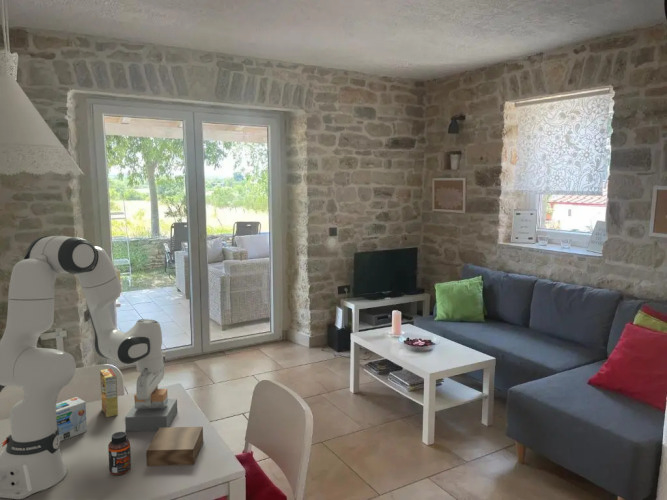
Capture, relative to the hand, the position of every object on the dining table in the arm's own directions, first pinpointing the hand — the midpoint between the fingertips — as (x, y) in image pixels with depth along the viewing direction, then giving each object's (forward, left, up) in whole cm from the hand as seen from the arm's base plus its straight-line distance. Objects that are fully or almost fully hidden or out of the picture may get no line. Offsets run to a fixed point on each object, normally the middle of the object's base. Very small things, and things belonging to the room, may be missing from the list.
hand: (151, 401), depth 174 cm
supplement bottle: (0, -31, -8) cm, 32 cm away
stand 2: (+14, -22, -8) cm, 27 cm away
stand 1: (0, 0, -8) cm, 8 cm away
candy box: (-18, +8, -8) cm, 21 cm away
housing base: (0, 0, -2) cm, 2 cm away
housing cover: (0, 0, +1) cm, 1 cm away
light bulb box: (-26, -8, -8) cm, 28 cm away
